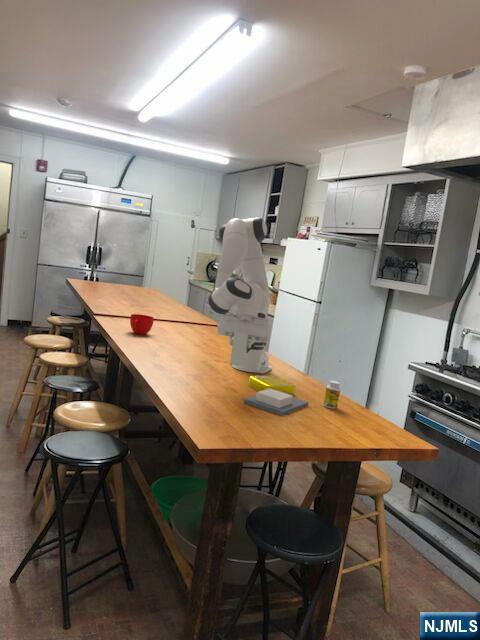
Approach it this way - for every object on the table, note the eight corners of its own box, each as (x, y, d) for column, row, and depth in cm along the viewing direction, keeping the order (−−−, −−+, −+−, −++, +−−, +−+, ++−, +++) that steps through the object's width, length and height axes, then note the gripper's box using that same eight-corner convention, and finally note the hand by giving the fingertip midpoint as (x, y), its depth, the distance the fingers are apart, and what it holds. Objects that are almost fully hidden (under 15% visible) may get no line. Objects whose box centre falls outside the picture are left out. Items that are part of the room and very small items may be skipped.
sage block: (231, 361, 191) (236, 331, 189) (244, 363, 190) (249, 333, 189) (229, 364, 186) (234, 332, 184) (243, 366, 185) (247, 335, 184)
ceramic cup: (121, 333, 272) (124, 315, 271) (133, 330, 289) (135, 313, 288) (144, 338, 270) (146, 320, 269) (154, 334, 287) (157, 317, 286)
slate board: (272, 393, 201) (274, 383, 201) (307, 405, 193) (309, 394, 192) (243, 402, 183) (245, 390, 182) (281, 416, 174) (284, 403, 174)
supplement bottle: (326, 408, 193) (331, 383, 192) (320, 403, 199) (325, 379, 197) (339, 409, 195) (344, 384, 193) (333, 405, 200) (338, 380, 199)
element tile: (268, 397, 198) (270, 385, 197) (246, 385, 209) (248, 374, 209) (295, 395, 206) (298, 384, 206) (273, 384, 218) (275, 374, 218)
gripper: (220, 308, 194) (212, 336, 185) (272, 316, 191) (266, 345, 183) (220, 318, 199) (213, 346, 190) (271, 326, 196) (265, 354, 188)
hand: (239, 345), depth 187 cm, fingers closed on sage block, 5 cm apart
